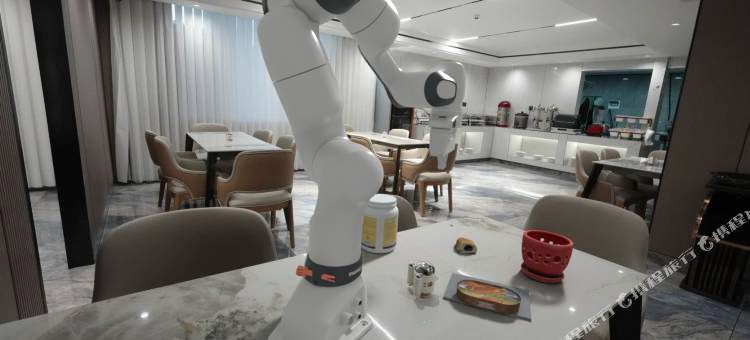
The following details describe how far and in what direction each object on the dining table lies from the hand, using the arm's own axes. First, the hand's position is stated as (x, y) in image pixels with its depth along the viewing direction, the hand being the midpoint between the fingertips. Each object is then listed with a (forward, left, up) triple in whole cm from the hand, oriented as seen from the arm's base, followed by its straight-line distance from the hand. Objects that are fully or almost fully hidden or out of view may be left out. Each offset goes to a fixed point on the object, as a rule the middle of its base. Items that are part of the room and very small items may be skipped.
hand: (441, 168), depth 100 cm
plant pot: (+7, -31, -29) cm, 43 cm away
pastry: (+15, -8, -30) cm, 34 cm away
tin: (-12, -17, -28) cm, 35 cm away
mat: (-13, -17, -29) cm, 36 cm away
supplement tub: (+2, +19, -29) cm, 35 cm away
